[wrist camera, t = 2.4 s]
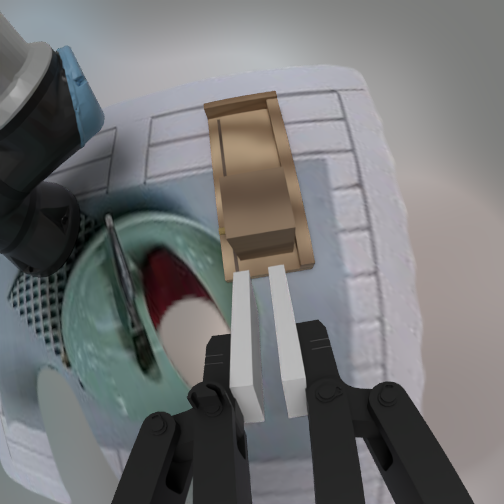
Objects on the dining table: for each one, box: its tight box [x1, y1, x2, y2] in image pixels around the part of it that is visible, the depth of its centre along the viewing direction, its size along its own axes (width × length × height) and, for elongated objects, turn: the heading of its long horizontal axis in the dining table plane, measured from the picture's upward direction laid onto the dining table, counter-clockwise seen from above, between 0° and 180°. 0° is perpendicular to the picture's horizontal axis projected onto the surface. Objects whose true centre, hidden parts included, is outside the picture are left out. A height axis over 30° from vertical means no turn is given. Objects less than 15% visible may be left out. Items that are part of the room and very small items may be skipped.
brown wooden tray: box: [204, 91, 315, 282], centre depth 37 cm, size 24×10×4 cm, turn 8°
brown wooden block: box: [219, 167, 296, 261], centre depth 31 cm, size 6×8×9 cm
